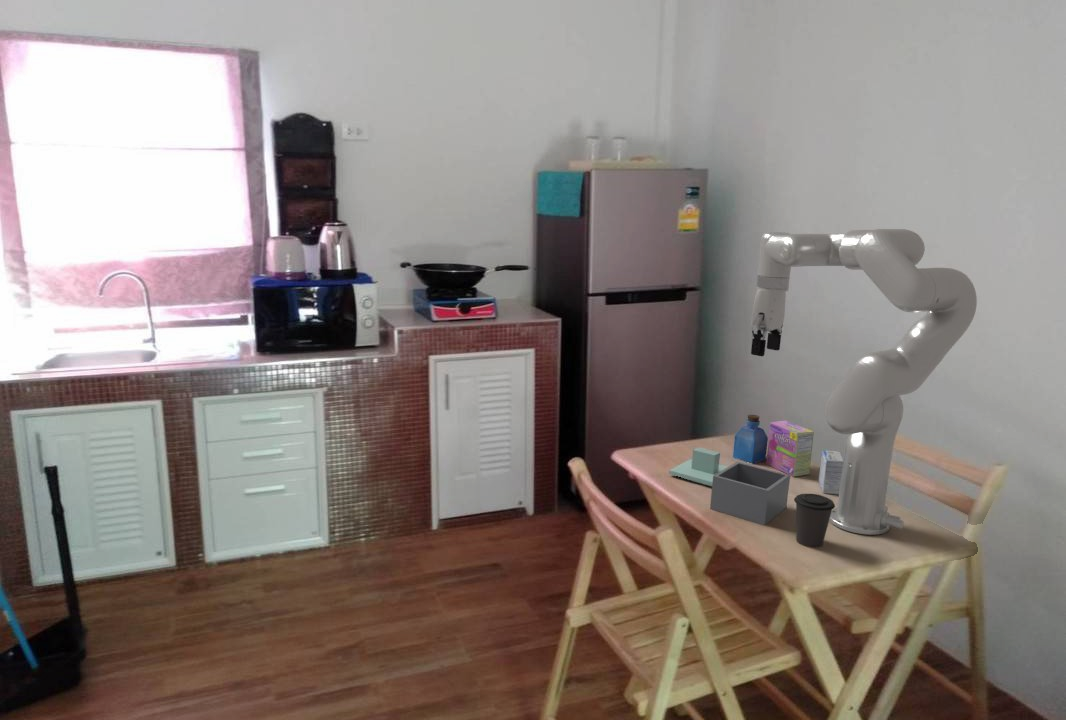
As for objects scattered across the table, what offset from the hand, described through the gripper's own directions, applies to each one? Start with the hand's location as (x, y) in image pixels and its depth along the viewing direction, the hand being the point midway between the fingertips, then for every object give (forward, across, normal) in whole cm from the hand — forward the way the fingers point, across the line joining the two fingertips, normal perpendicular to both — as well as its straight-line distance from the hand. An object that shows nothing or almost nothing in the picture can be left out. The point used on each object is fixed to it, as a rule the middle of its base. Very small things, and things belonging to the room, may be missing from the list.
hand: (765, 352), depth 202 cm
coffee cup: (+32, +29, +25) cm, 50 cm away
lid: (+33, +9, -9) cm, 35 cm away
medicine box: (+33, -5, +18) cm, 38 cm away
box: (+33, -11, +5) cm, 35 cm away
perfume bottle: (+33, -12, -6) cm, 35 cm away
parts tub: (+32, +21, +8) cm, 39 cm away
